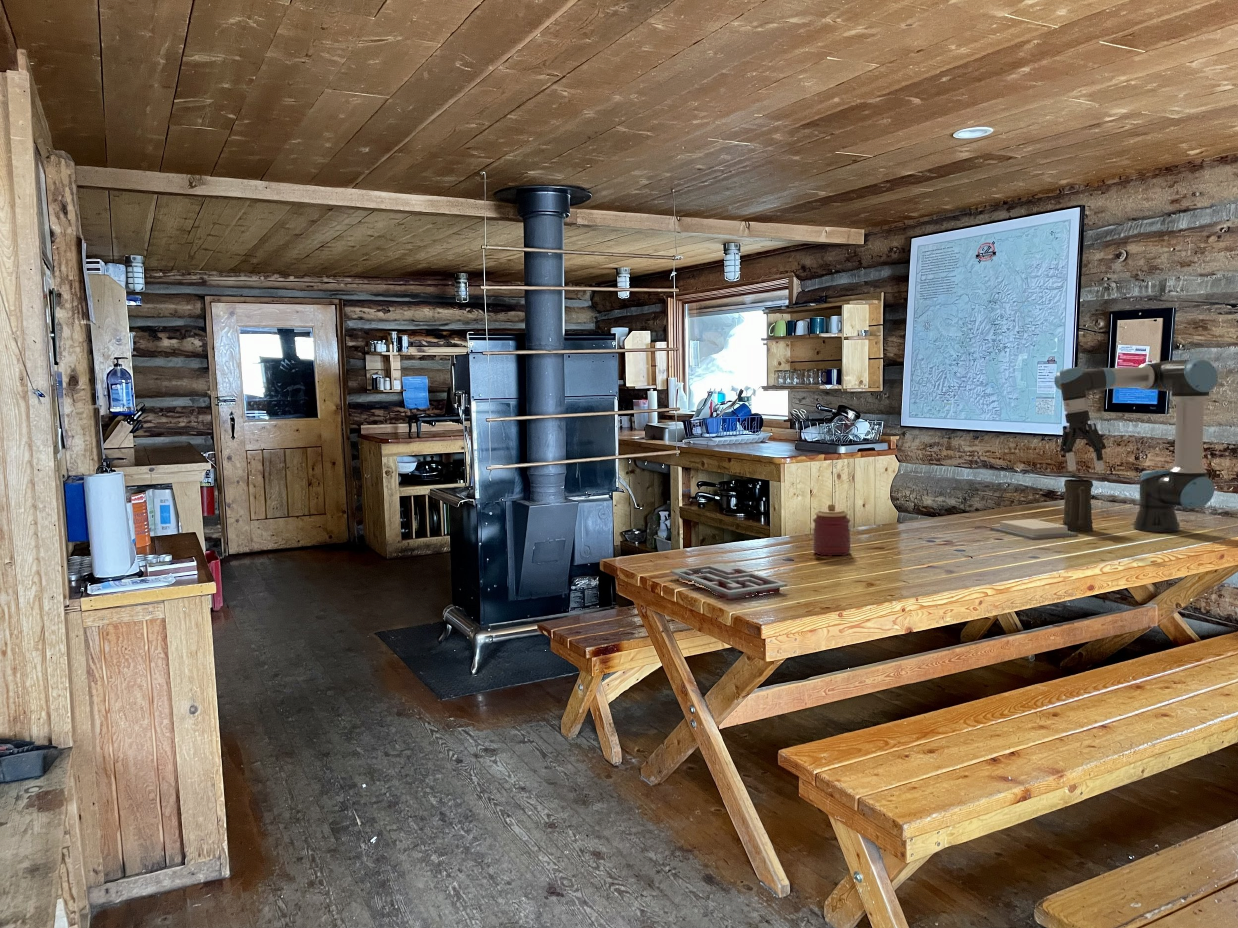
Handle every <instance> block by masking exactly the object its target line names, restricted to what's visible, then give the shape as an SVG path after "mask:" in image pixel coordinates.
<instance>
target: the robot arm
mask: <svg viewBox="0 0 1238 928" xmlns="http://www.w3.org/2000/svg"><path fill="white" fill-rule="evenodd" d="M1218 375H1219V374H1218V371H1217V369H1216V367H1215V366H1214V365H1213V364H1212V363H1211V362H1210V361H1209V360H1205V359H1197V358H1192V359H1175V360H1174V359H1173V360H1172V359H1171V360H1164V361H1163V360H1162V361H1159V362H1152V363H1142V364H1140V365H1138V366H1135V367H1134V366H1133V367H1132V366H1131V367H1112V368H1111V367H1099V368H1091V369H1090V368H1088V369H1083V368H1082V367H1081V366H1076V367H1071V368H1069V367H1068V368H1064V369H1060V371H1058V372H1057V373H1056V374H1055V376H1054V379H1053V381H1054V385H1055V388H1057V389H1058V390H1060V391H1061V397H1062V401H1063V409H1064V412H1066V413H1065V415H1064V416H1065V423H1066V425H1062V435H1061V436H1062V438H1061V443H1060V445H1059V446H1060V448H1059V451H1060V452H1063V453H1064V456H1065V460H1066V463H1067V464H1066V465H1067V470H1068V471H1069V472H1071V471H1076V470H1077V464H1076V463H1077V462H1076V458H1075V452H1074V447H1075V444H1076V442H1077V441H1078V438H1082V439H1085V441H1086V442H1087V444H1088V445H1089V446H1090V447H1091V449H1092V455H1093V456H1092V457H1093V462H1094V468H1095V471H1097V472H1099V471H1104V470H1105V468H1104V461H1103V460H1104V456H1103V451H1104V450H1105V449H1107V445H1106V443H1105V442H1104V440H1103V438H1102V436H1101V434H1100V432H1099V430H1098V428H1097V424H1096V422H1091V423H1089V421H1090V419H1091V417H1090V411H1088V409H1089V403H1088V398H1087V393H1090V392H1096V391H1097V392H1098V391H1104V390H1105V391H1106V390H1107V389H1108V390H1109V389H1127V388H1139V390H1142V391H1143V390H1152V391H1153V390H1155V391H1164V392H1171V398H1172V399H1173V400H1175V403H1176V404H1175V428H1174V429H1175V431H1174V433H1175V435H1174V441H1175V442H1174V466H1173V467H1171V468H1170V469H1162V470H1161V469H1159V470H1158V469H1157V470H1155V469H1154V470H1143V471H1142V472H1141V473H1140V478H1139V509H1138V512H1137V514H1136V517H1135V520H1134V522H1133V529H1135V530H1136V531H1137V530H1139V531H1142V532H1151V533H1177V532H1179V531H1180V530H1181V529H1180V527H1181V525H1180V522H1178V517H1177V514H1176V508H1175V507H1176V506H1179V507H1184V508H1185V509H1186V508H1187V509H1191V508H1193V509H1200V508H1203V507H1205V506H1206V505H1208V503H1209V502H1211V500H1212V499H1213V496H1214V493H1215V484H1214V482H1213V481H1212V480H1211V478H1209V477H1208V471H1207V470H1206V469H1205V468H1204V466H1203V454H1204V453H1203V452H1204V451H1203V449H1204V448H1203V447H1204V414H1205V413H1204V412H1205V400H1207V399H1208V398H1209V397H1210V392H1211V391H1212V390H1214V389H1215V387H1216V386H1217V384H1218V379H1219V376H1218ZM1067 424H1068V425H1067ZM1176 531H1177V532H1176Z"/></svg>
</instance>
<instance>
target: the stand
mask: <svg viewBox="0 0 1238 928" xmlns="http://www.w3.org/2000/svg"><path fill="white" fill-rule="evenodd" d="M989 530H990V531H993V530H994V531H995V532H999V533H1003V534H1007V535H1010V536H1011V535H1012V536H1016V537H1018V538H1023V539H1028V540H1044V539H1047V540H1048V539H1057V538H1069V537H1070V536H1071V537H1079V532H1069V531H1067V526H1064V525H1063V524H1058V523H1053V522H1049V521H1044V520H1038V519H1034V518H1030V519H1029V518H1028V519H1016V520H1014V519H1013V520H1003V521H1002V520H1001V521H999V526H991V527H989ZM1071 537H1070V538H1071Z"/></svg>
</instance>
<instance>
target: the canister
mask: <svg viewBox="0 0 1238 928" xmlns="http://www.w3.org/2000/svg"><path fill="white" fill-rule="evenodd" d="M814 515H815V516H816V517H815V518H813V519H812V521H813V523H814V527H813V528H812V532H813V545H812V550H813V553H814V552H815V553H817V554H816V555H818V554H821V555H820V556H823V555H828V556H827V557H833V556H832V555H843V556H846V555H845V554H848V555H850V554H849V553H851V548H852V546H851V528H850V523H851V521H852V520H851V519H850V518H849V517H848V516H849V513H848V512H846V511H845V510H844V509H840V508H836V505H835V504H834V503H829V504H828V506H827V508H821V509H819V510H818V511H817V512H815V513H814ZM815 553H814V554H815Z"/></svg>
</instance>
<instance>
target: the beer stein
mask: <svg viewBox="0 0 1238 928" xmlns="http://www.w3.org/2000/svg"><path fill="white" fill-rule="evenodd" d="M1063 486H1064V505H1063V518H1062V525H1064V526H1067V531H1070V532H1074V533H1090V532H1093V531H1094V528H1093V524H1094V521H1093V517H1092V513H1093V512H1092V488H1093V487H1094V483H1093V480H1091V479H1083V478H1070V479H1069V478H1067V479H1065V480H1064V483H1063Z"/></svg>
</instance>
